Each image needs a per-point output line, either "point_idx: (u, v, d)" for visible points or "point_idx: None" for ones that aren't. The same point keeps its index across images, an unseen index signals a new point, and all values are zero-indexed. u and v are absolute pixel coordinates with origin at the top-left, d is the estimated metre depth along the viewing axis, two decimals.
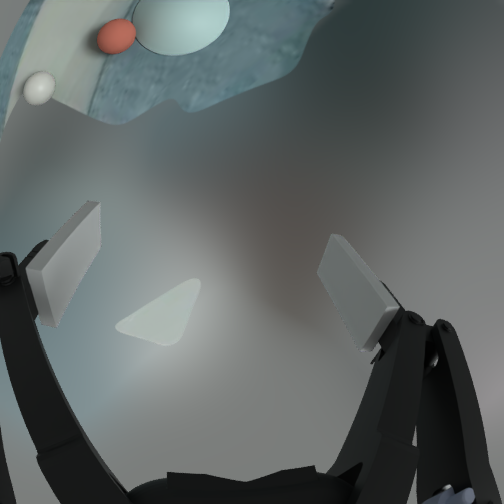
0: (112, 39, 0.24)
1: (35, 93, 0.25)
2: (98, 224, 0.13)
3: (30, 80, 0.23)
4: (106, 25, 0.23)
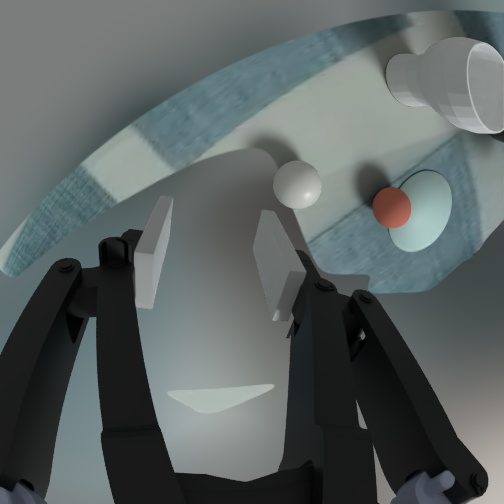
0: (398, 223, 0.32)
1: (304, 203, 0.29)
2: (170, 217, 0.16)
3: (309, 180, 0.28)
4: (403, 202, 0.31)
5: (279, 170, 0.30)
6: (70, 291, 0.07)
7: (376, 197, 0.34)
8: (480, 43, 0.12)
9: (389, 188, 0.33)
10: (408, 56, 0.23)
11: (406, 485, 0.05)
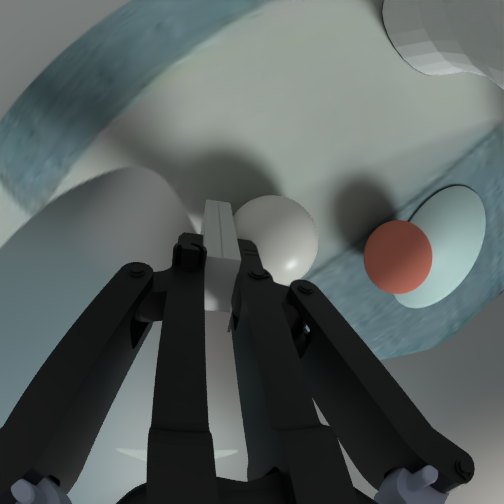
0: (408, 289, 0.17)
1: None
2: None
3: (316, 234, 0.16)
4: (421, 252, 0.16)
5: (260, 236, 0.14)
6: (139, 297, 0.08)
7: (371, 241, 0.19)
8: None
9: (395, 224, 0.18)
10: None
11: (386, 483, 0.05)
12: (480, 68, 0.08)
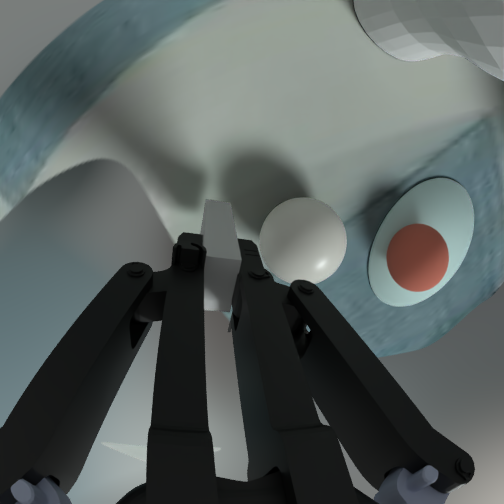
0: None
1: None
2: None
3: None
4: None
5: (346, 238, 0.17)
6: (138, 297, 0.08)
7: (439, 268, 0.17)
8: None
9: (440, 240, 0.18)
10: None
11: (386, 483, 0.05)
12: (451, 45, 0.08)
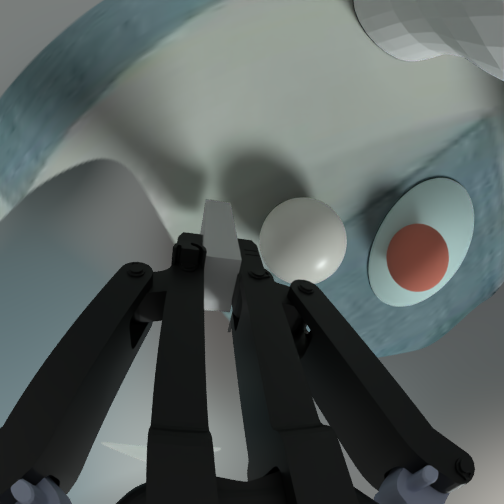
0: None
1: None
2: None
3: None
4: None
5: (346, 238, 0.17)
6: (138, 297, 0.08)
7: (439, 268, 0.17)
8: None
9: (440, 240, 0.18)
10: None
11: (386, 483, 0.05)
12: (451, 45, 0.08)
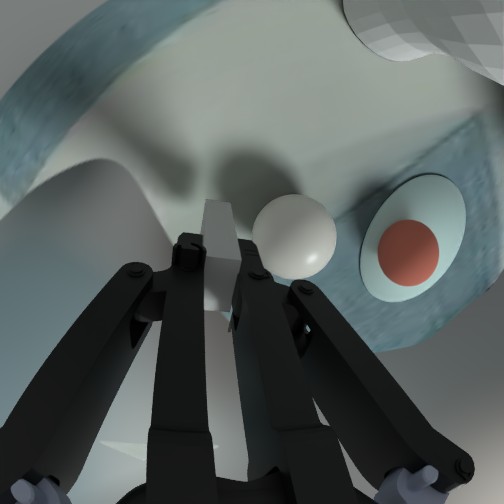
0: None
1: None
2: None
3: None
4: None
5: (335, 233, 0.17)
6: (138, 297, 0.08)
7: (429, 263, 0.18)
8: None
9: (430, 235, 0.18)
10: None
11: (386, 483, 0.05)
12: (437, 44, 0.09)
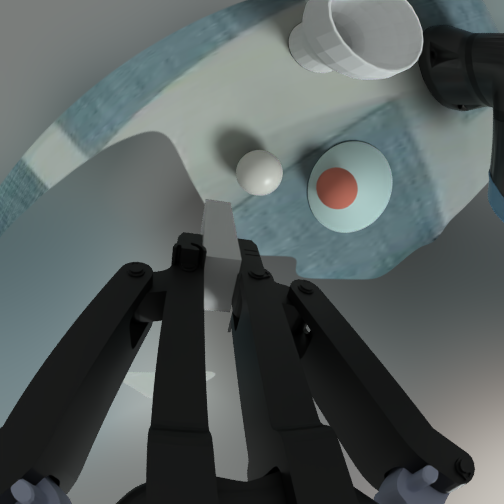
0: None
1: None
2: None
3: None
4: None
5: (281, 169, 0.31)
6: (138, 297, 0.08)
7: (346, 190, 0.32)
8: None
9: (347, 174, 0.33)
10: None
11: (386, 483, 0.05)
12: None
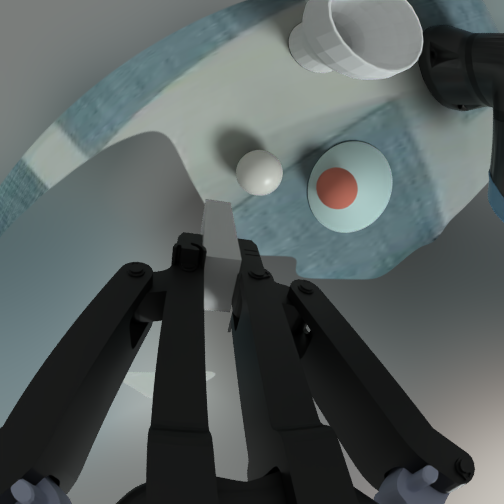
0: None
1: None
2: None
3: None
4: None
5: (281, 169, 0.32)
6: (138, 297, 0.08)
7: (346, 190, 0.32)
8: None
9: (347, 174, 0.33)
10: None
11: (386, 483, 0.05)
12: None
